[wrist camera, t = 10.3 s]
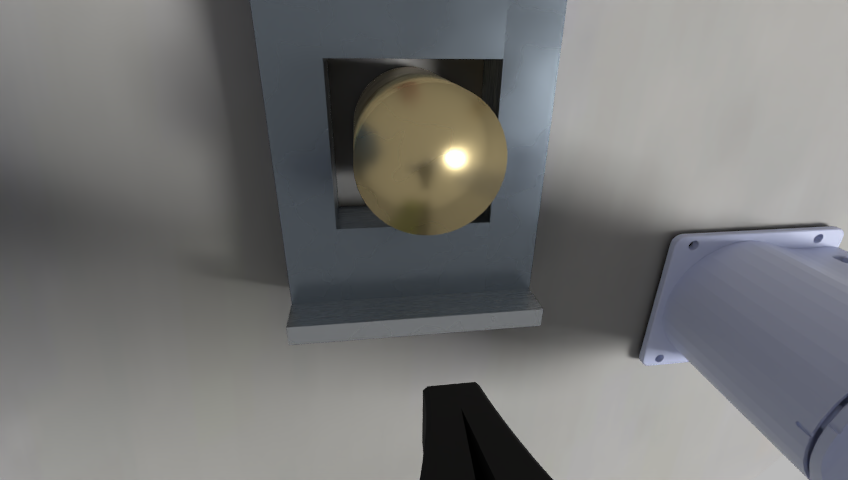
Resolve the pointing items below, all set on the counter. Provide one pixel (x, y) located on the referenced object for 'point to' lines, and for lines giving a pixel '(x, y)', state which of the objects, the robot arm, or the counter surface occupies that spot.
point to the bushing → (426, 152)
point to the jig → (357, 225)
